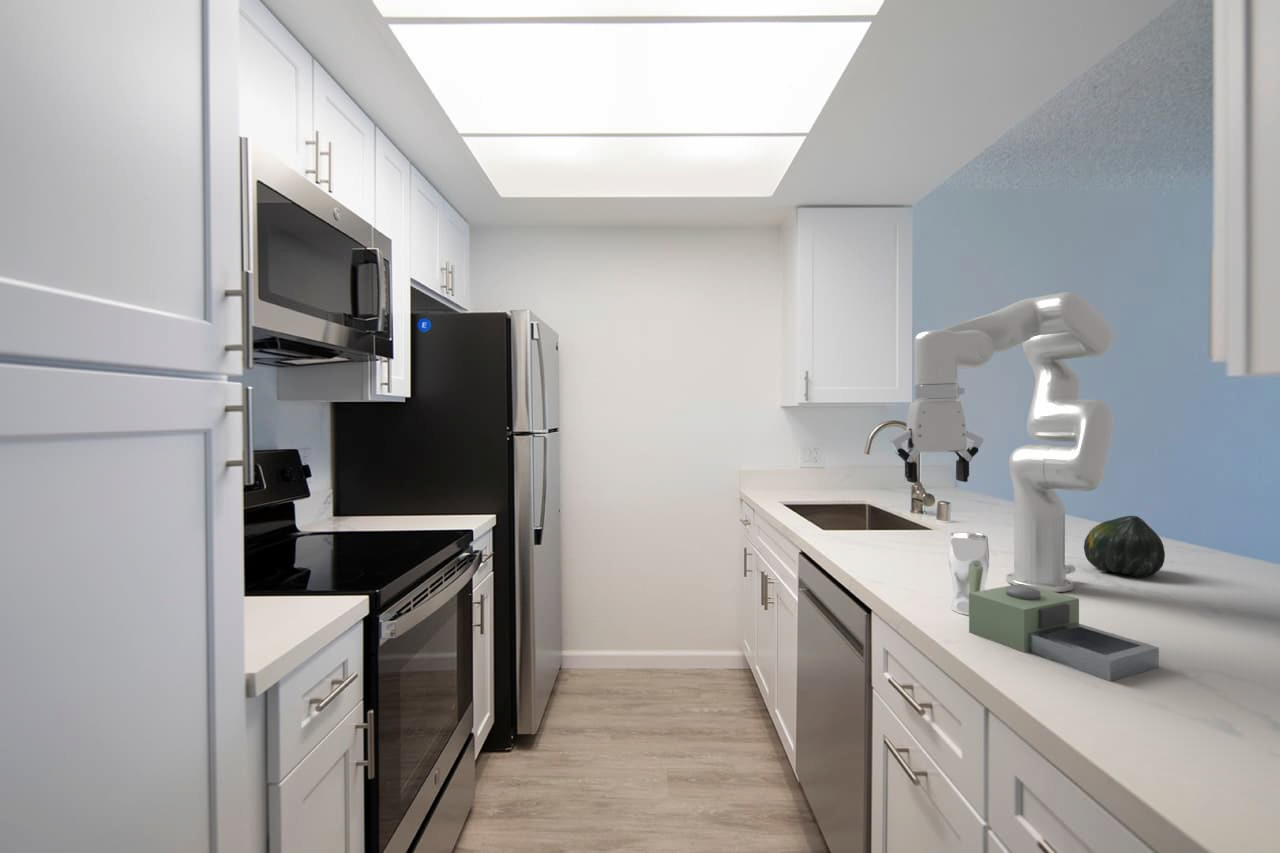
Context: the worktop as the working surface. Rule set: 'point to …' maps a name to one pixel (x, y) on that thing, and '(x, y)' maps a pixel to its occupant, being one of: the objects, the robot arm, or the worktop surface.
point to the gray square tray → (1094, 651)
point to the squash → (1125, 547)
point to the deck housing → (1019, 613)
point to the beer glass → (967, 567)
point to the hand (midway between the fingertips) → (936, 481)
